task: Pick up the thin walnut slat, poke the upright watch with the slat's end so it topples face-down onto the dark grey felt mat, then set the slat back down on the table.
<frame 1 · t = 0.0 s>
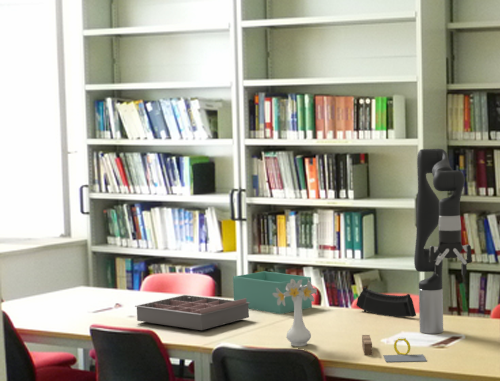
hand: (450, 275, 300), 29 cm above the table, tool pointing down, fingers open, 8 cm apart
organizer tray: (193, 322, 382), on the table
walnut slat: (367, 351, 318), on the table
box: (272, 307, 412), on the table
watch: (402, 354, 311), on the table
flower vase: (298, 345, 330), on the table
felt mat: (404, 358, 304), on the table
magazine: (385, 315, 384), on the table
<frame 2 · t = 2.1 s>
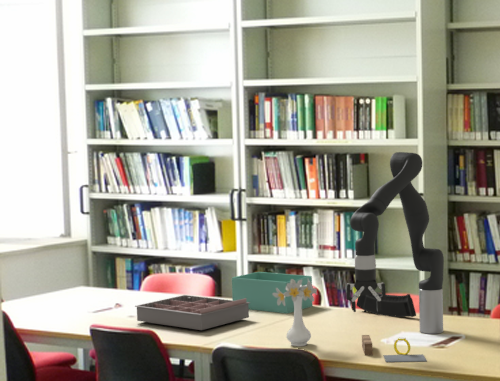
hand: (366, 311, 317), 14 cm above the table, tool pointing down, fingers open, 8 cm apart
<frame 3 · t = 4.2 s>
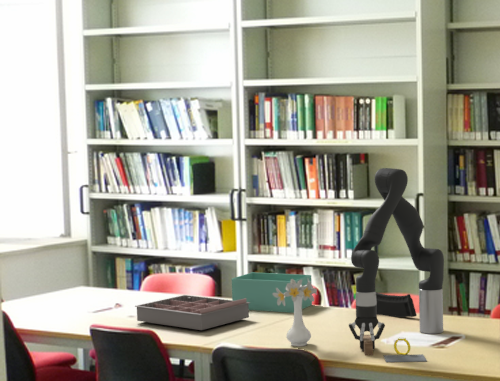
hand: (367, 350, 318), 0 cm above the table, tool pointing down, fingers closed on walnut slat, 2 cm apart
walnut slat: (367, 351, 318), on the table, touching gripper
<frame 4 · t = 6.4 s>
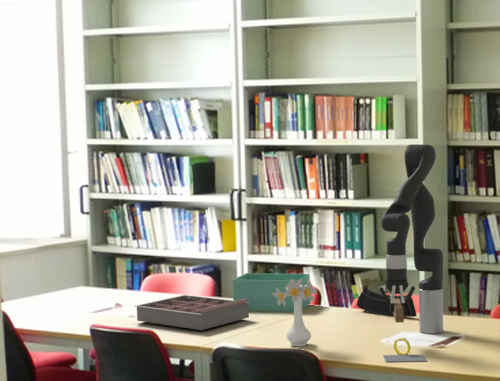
hand: (397, 312, 323), 13 cm above the table, tool pointing down, fingers closed on walnut slat, 2 cm apart
walnut slat: (397, 315, 324), point 11 cm above the table, tilted 9°, touching gripper
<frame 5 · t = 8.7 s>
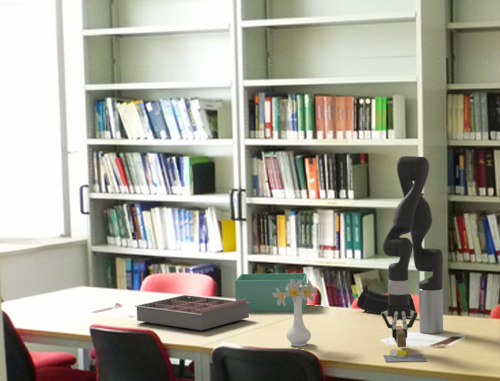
hand: (399, 339, 317), 4 cm above the table, tool pointing down, fingers closed on walnut slat, 2 cm apart
walnut slat: (399, 342, 317), point 3 cm above the table, touching gripper
watch: (401, 352, 311), point 1 cm above the table, touching felt mat
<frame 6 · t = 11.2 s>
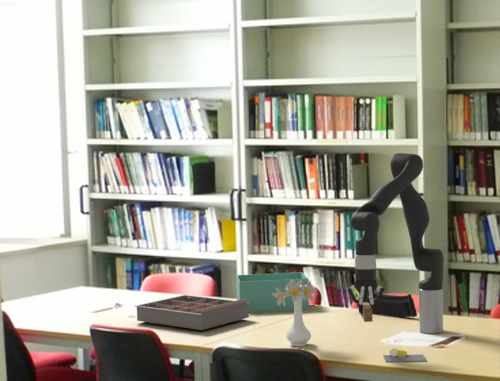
hand: (366, 314, 315), 14 cm above the table, tool pointing down, fingers closed on walnut slat, 2 cm apart
walnut slat: (366, 317, 315), point 13 cm above the table, touching gripper
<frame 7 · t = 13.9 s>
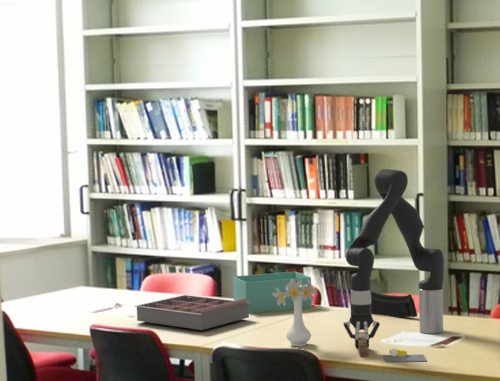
hand: (362, 349, 316), 1 cm above the table, tool pointing down, fingers closed on walnut slat, 2 cm apart
walnut slat: (362, 350, 316), point 1 cm above the table, tilted 6°, touching gripper
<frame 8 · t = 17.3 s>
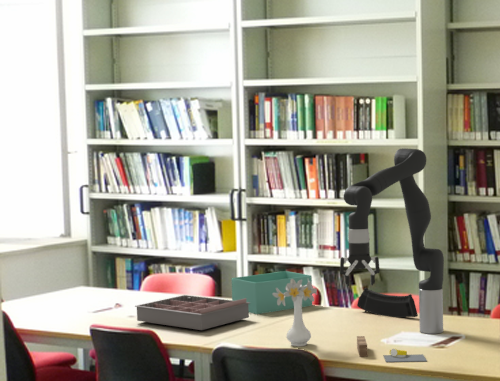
hand: (360, 285, 317), 24 cm above the table, tool pointing down, fingers open, 8 cm apart
walnut slat: (362, 352, 316), on the table
at the end: watch tilted 79°; watch inside the target area (6.1 cm from its centre), point 0.7 cm above the table; the gripper is holding nothing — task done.
